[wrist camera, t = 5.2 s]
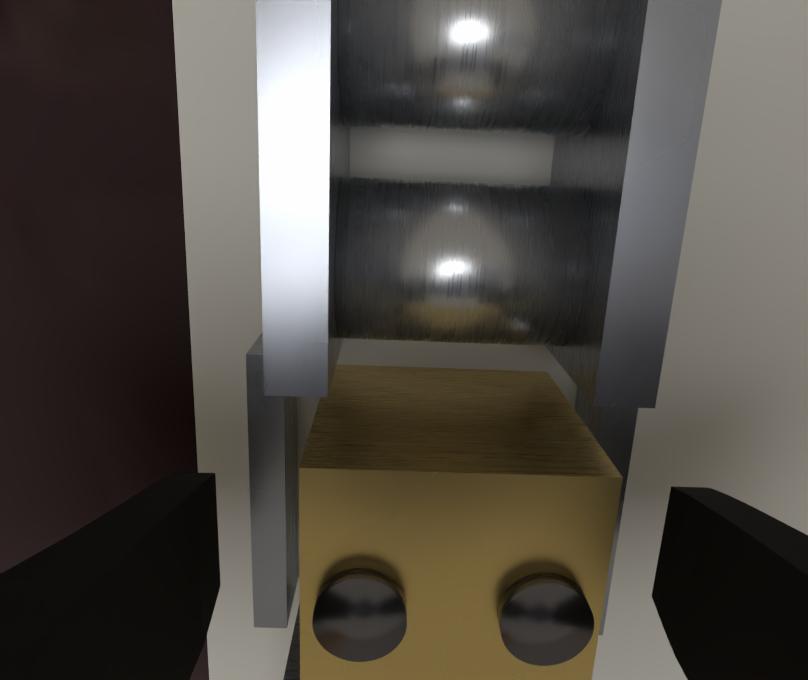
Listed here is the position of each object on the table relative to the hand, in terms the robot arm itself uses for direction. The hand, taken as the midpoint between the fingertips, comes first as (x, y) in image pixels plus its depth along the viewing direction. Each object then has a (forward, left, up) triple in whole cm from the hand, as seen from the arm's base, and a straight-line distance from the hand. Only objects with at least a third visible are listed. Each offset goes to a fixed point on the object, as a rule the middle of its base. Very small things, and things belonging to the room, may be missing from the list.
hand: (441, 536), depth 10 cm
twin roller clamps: (0, 0, -2) cm, 2 cm away
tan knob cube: (0, 0, -2) cm, 2 cm away
